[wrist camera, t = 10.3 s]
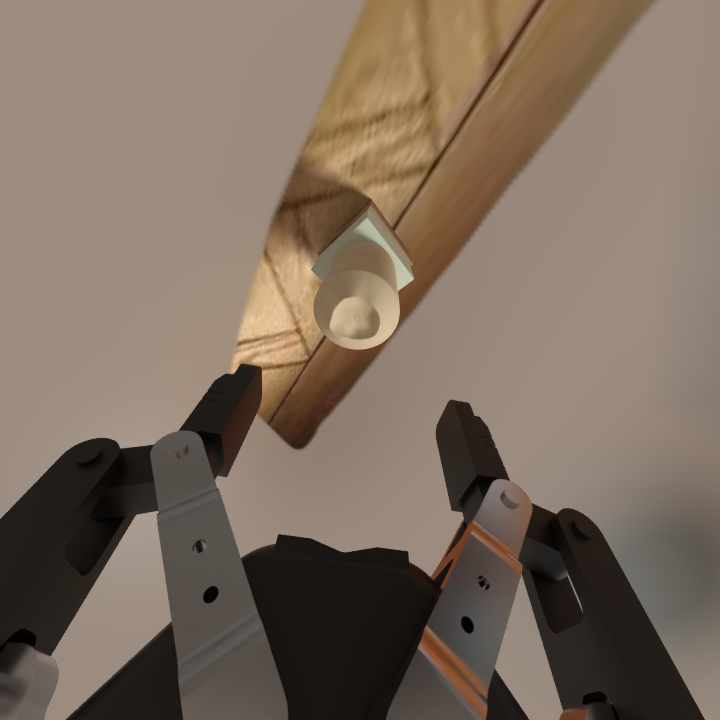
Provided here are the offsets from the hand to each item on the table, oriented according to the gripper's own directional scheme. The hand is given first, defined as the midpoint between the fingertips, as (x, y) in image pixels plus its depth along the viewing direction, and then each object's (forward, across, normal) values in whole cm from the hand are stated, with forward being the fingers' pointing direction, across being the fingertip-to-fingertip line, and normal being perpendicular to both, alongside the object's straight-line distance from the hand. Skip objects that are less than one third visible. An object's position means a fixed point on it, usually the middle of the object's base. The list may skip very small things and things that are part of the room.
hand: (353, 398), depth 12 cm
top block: (+21, 0, 0) cm, 21 cm away
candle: (+16, 0, 0) cm, 16 cm away
